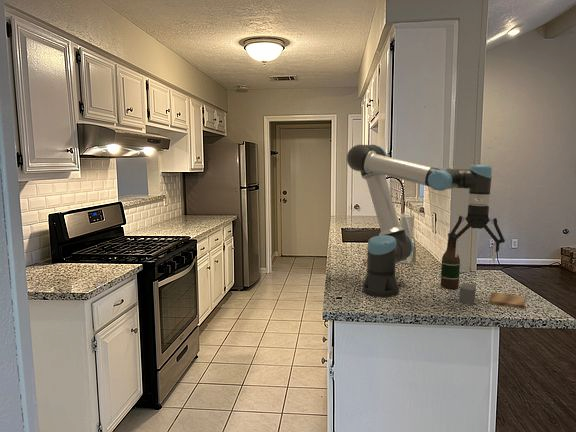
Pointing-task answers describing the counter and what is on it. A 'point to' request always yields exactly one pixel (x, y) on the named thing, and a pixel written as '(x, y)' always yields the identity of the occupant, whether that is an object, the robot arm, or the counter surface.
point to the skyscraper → (408, 234)
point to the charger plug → (467, 293)
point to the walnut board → (507, 300)
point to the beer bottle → (450, 267)
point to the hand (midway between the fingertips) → (474, 257)
